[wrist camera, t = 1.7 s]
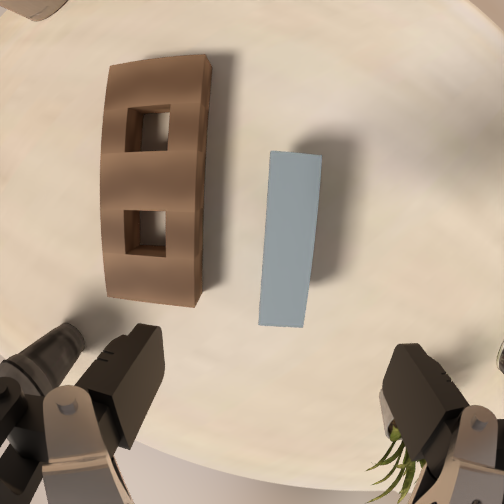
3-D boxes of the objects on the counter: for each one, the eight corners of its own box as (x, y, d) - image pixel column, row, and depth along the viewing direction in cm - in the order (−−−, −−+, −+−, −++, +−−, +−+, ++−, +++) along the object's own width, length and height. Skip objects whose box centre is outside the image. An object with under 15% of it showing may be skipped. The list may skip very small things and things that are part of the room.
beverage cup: (49, 341, 33) (-34, 425, 13) (54, 303, 31) (-50, 389, 11) (88, 369, 33) (14, 470, 14) (97, 334, 31) (4, 445, 12)
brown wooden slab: (125, 75, 23) (109, 65, 20) (212, 67, 23) (205, 54, 20) (122, 283, 29) (107, 296, 26) (202, 292, 29) (194, 307, 26)
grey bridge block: (269, 155, 25) (270, 150, 19) (308, 159, 25) (322, 155, 19) (260, 292, 29) (258, 325, 22) (295, 294, 29) (302, 327, 22)
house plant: (315, 411, 33) (331, 519, 17) (385, 332, 29) (449, 438, 14) (387, 432, 34) (416, 515, 19) (450, 366, 31) (506, 445, 15)
